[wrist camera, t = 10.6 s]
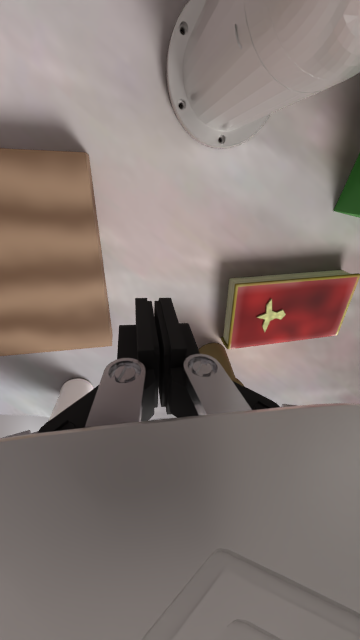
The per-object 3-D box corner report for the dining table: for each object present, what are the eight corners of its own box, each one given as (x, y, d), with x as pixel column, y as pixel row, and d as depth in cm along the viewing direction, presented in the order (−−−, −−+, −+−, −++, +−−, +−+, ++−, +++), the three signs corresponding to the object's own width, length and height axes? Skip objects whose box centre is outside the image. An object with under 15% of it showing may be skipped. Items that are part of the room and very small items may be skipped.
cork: (197, 343, 43) (217, 388, 34) (228, 342, 45) (256, 385, 35) (192, 369, 46) (209, 417, 37) (222, 368, 48) (246, 414, 38)
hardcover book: (321, 326, 48) (337, 338, 44) (220, 338, 44) (228, 352, 41) (341, 266, 42) (362, 274, 38) (226, 275, 38) (236, 285, 35)
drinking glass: (94, 403, 46) (82, 490, 33) (54, 399, 43) (25, 491, 31) (102, 376, 43) (92, 460, 30) (60, 370, 41) (31, 458, 28)
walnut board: (-80, 146, 24) (-104, 143, 22) (88, 154, 27) (85, 152, 25) (1, 344, 36) (-8, 356, 34) (112, 335, 39) (111, 345, 37)
